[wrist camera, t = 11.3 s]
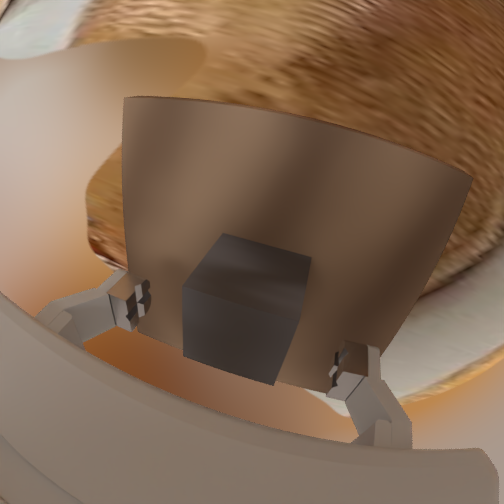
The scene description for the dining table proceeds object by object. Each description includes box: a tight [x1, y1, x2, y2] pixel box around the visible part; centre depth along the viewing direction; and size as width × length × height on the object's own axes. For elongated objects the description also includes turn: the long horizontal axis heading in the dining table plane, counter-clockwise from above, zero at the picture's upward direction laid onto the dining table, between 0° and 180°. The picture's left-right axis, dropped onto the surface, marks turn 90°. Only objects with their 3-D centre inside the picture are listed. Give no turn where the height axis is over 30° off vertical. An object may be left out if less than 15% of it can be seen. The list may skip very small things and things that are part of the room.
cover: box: [122, 96, 473, 393], centre depth 12 cm, size 15×15×5 cm
